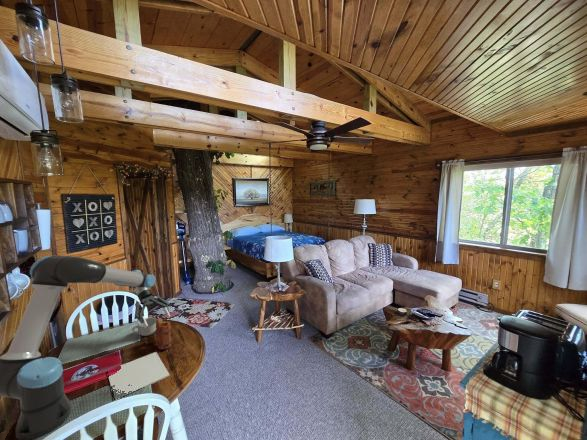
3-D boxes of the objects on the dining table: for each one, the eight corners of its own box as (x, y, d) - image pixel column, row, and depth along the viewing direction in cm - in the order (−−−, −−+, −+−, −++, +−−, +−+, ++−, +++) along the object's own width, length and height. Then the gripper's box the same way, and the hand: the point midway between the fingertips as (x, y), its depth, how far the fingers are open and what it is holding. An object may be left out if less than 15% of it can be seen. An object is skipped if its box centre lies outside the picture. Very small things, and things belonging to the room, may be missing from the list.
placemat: (114, 401, 103) (114, 400, 103) (107, 371, 121) (107, 370, 121) (169, 375, 119) (169, 374, 118) (156, 352, 136) (156, 351, 136)
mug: (175, 347, 141) (174, 322, 140) (160, 353, 135) (159, 328, 134) (165, 337, 151) (164, 314, 149) (151, 343, 145) (150, 319, 143)
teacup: (155, 327, 162) (154, 315, 162) (159, 333, 155) (159, 321, 154) (130, 334, 153) (130, 322, 152) (133, 342, 145) (133, 329, 144)
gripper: (161, 289, 164) (175, 316, 158) (119, 302, 143) (134, 334, 137) (165, 283, 161) (179, 310, 155) (123, 296, 140) (138, 328, 133)
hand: (158, 321), depth 146 cm, fingers open, 13 cm apart
